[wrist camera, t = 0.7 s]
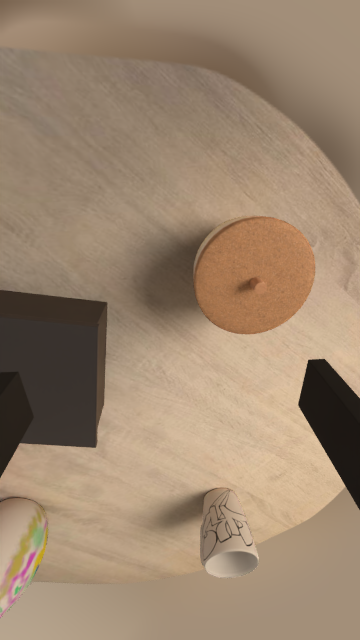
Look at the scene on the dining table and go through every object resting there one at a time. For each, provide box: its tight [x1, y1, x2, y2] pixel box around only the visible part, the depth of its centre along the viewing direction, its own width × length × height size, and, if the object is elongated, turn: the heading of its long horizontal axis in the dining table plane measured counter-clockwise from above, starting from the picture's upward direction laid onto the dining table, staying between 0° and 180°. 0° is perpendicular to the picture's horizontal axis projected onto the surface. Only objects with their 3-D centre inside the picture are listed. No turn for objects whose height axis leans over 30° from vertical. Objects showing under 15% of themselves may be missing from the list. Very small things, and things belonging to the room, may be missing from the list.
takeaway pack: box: [0, 290, 107, 448], centre depth 33 cm, size 17×15×7 cm
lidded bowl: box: [193, 216, 315, 334], centre depth 27 cm, size 11×11×9 cm
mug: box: [200, 488, 259, 578], centre depth 47 cm, size 11×8×10 cm
